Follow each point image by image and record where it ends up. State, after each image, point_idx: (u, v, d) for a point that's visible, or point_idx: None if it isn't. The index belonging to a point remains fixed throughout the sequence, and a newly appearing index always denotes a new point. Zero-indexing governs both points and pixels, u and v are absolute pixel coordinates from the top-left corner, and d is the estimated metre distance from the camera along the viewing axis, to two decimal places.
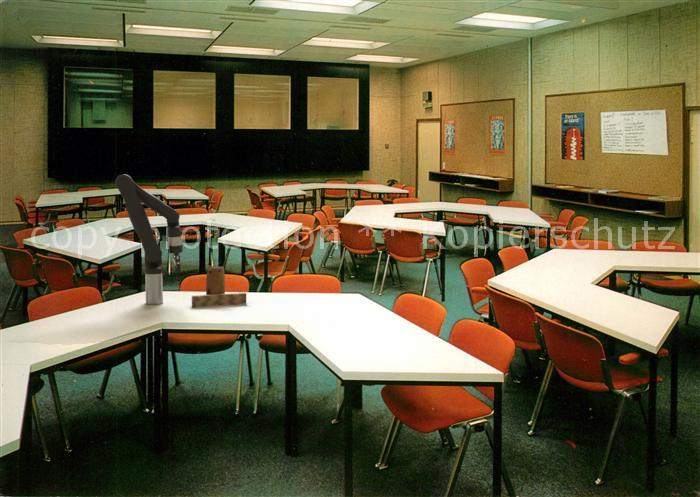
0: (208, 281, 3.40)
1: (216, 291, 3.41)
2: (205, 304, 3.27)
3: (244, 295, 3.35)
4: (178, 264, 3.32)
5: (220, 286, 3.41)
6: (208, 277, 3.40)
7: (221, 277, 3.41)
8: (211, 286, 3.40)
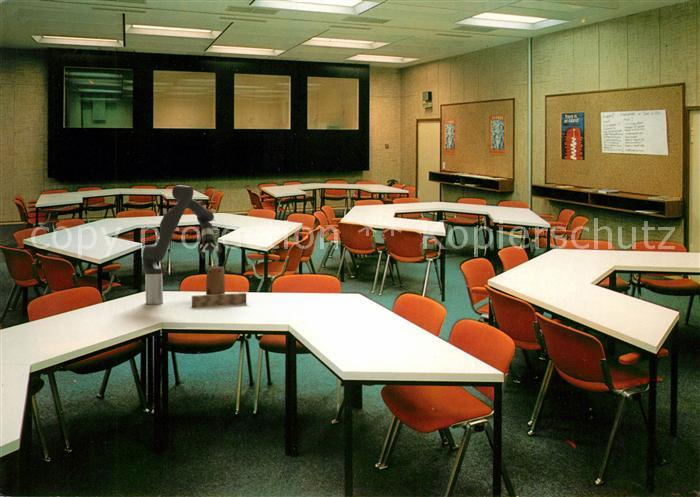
0: (208, 281, 3.40)
1: (216, 291, 3.41)
2: (205, 304, 3.27)
3: (244, 295, 3.35)
4: None
5: (220, 286, 3.41)
6: (208, 277, 3.40)
7: (221, 277, 3.41)
8: (211, 286, 3.40)
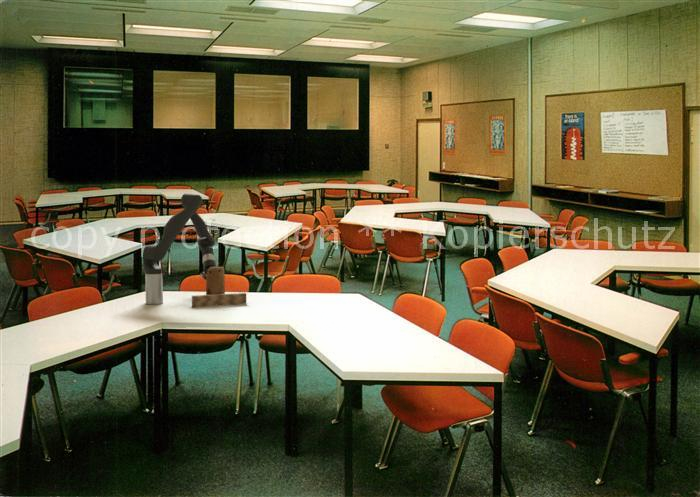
0: (208, 281, 3.40)
1: (216, 291, 3.41)
2: (205, 304, 3.27)
3: (244, 295, 3.35)
4: None
5: (220, 286, 3.41)
6: (208, 277, 3.40)
7: (221, 277, 3.41)
8: (211, 286, 3.40)
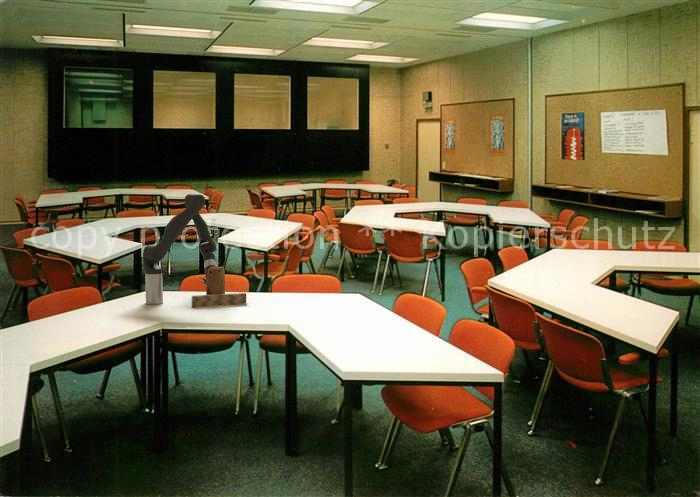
0: (208, 281, 3.40)
1: (216, 291, 3.41)
2: (205, 304, 3.27)
3: (244, 295, 3.35)
4: None
5: (220, 286, 3.41)
6: (209, 277, 3.40)
7: (221, 277, 3.40)
8: (211, 286, 3.40)
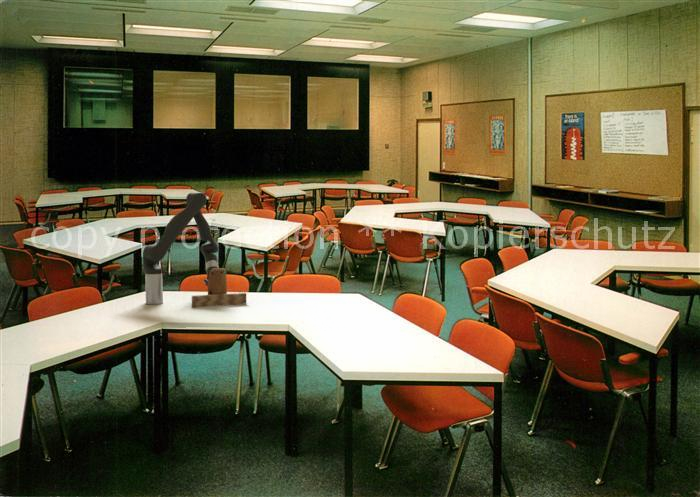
0: (210, 283, 3.34)
1: (218, 293, 3.35)
2: (205, 304, 3.27)
3: (244, 295, 3.35)
4: None
5: (222, 287, 3.35)
6: (210, 279, 3.34)
7: (223, 279, 3.35)
8: (213, 287, 3.34)
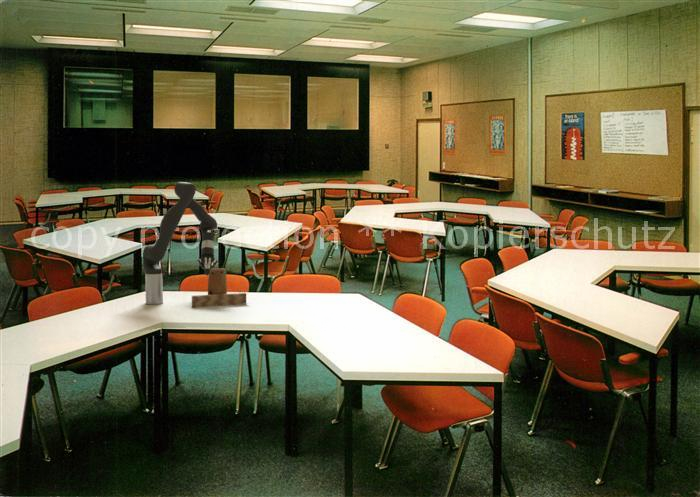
0: (210, 283, 3.34)
1: (218, 293, 3.35)
2: (205, 304, 3.27)
3: (244, 295, 3.35)
4: None
5: (222, 287, 3.35)
6: (211, 279, 3.34)
7: (223, 279, 3.35)
8: (213, 288, 3.34)
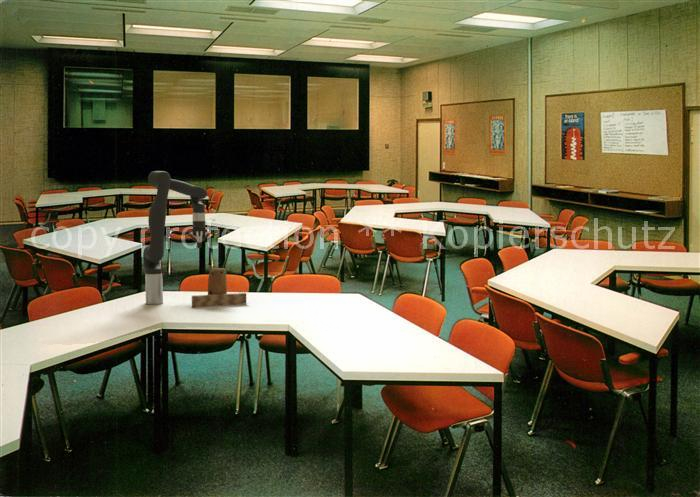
0: (210, 283, 3.34)
1: (218, 293, 3.35)
2: (205, 304, 3.27)
3: (244, 295, 3.35)
4: None
5: (222, 287, 3.35)
6: (211, 279, 3.34)
7: (223, 279, 3.35)
8: (213, 288, 3.34)
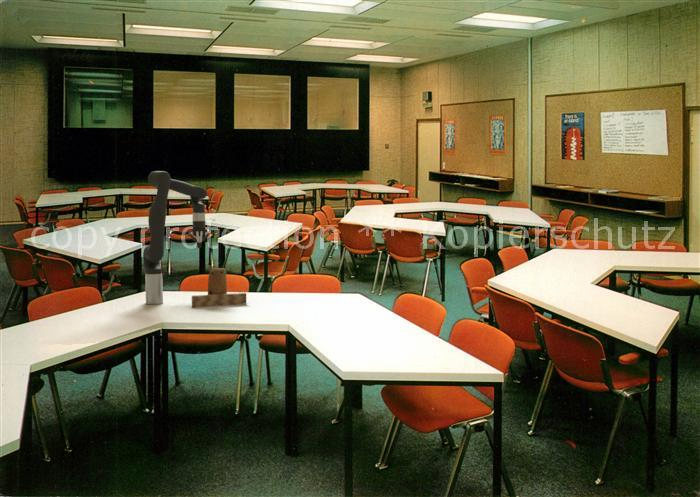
0: (210, 283, 3.34)
1: (218, 293, 3.35)
2: (205, 304, 3.27)
3: (244, 295, 3.35)
4: None
5: (222, 287, 3.35)
6: (211, 279, 3.34)
7: (223, 279, 3.35)
8: (213, 288, 3.34)
